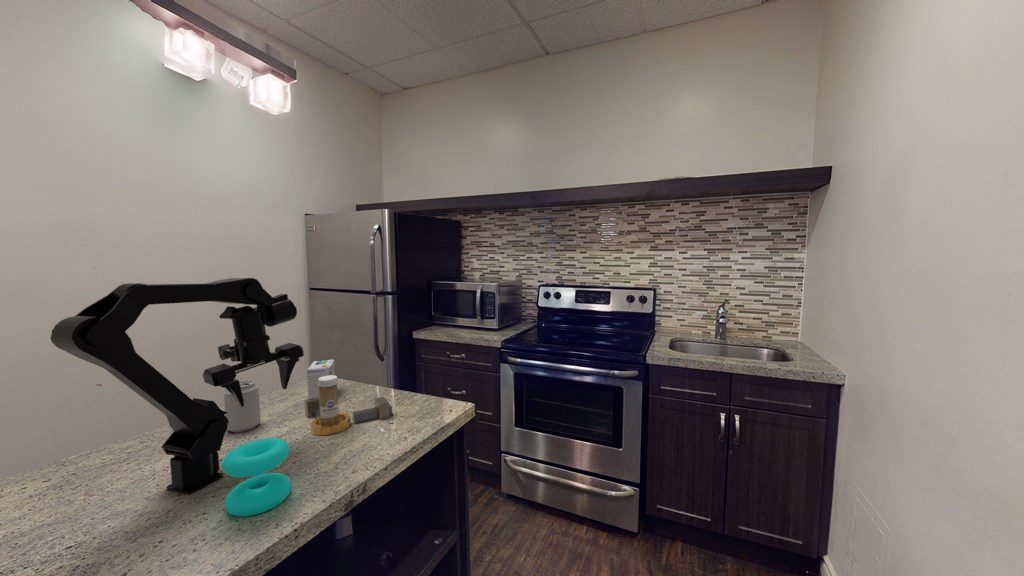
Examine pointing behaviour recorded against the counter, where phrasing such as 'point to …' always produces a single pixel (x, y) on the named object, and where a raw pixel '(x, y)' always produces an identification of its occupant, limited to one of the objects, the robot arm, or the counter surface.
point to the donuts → (261, 488)
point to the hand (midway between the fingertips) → (264, 397)
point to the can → (243, 408)
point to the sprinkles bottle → (328, 400)
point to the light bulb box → (318, 375)
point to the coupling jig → (345, 416)
